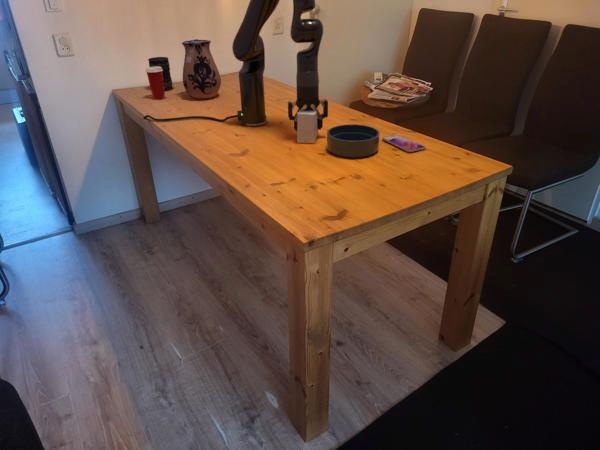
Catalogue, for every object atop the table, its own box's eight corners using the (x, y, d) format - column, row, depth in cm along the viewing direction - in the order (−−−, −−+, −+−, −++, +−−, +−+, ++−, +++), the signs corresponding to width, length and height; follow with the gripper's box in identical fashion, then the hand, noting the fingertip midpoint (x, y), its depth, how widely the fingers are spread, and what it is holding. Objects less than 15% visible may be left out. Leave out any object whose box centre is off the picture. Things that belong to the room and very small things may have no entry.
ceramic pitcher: (189, 103, 207) (181, 45, 194) (180, 93, 224) (172, 39, 211) (226, 98, 213) (220, 42, 200) (215, 89, 230) (209, 36, 217)
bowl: (332, 160, 144) (333, 143, 141) (322, 142, 159) (322, 126, 156) (384, 157, 146) (386, 139, 143) (370, 139, 161) (371, 122, 158)
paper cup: (170, 97, 218) (165, 67, 211) (158, 100, 212) (153, 70, 205) (159, 95, 221) (154, 65, 214) (147, 98, 216) (141, 68, 209)
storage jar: (155, 87, 236) (149, 57, 228) (174, 86, 237) (169, 56, 229) (151, 91, 227) (146, 60, 220) (171, 91, 228) (166, 60, 221)
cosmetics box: (315, 143, 158) (314, 114, 153) (296, 143, 159) (296, 113, 154) (319, 134, 167) (319, 105, 161) (301, 133, 168) (301, 105, 162)
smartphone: (397, 134, 162) (426, 147, 150) (397, 136, 162) (425, 149, 151) (381, 137, 159) (409, 150, 147) (381, 139, 159) (408, 153, 148)
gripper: (326, 79, 157) (325, 125, 165) (285, 82, 155) (287, 128, 164) (330, 84, 151) (330, 132, 159) (288, 87, 149) (289, 134, 157)
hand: (308, 130), depth 161 cm, fingers closed on cosmetics box, 7 cm apart
